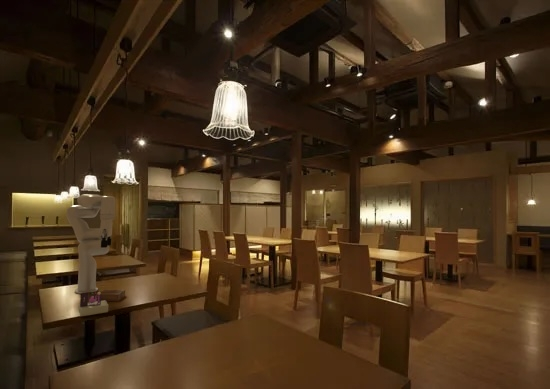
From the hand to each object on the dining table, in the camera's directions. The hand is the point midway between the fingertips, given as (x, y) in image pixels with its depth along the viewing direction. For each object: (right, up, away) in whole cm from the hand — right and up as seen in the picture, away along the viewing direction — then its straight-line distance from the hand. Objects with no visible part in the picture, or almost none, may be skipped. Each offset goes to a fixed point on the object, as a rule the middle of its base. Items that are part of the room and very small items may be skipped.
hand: (106, 246), depth 180 cm
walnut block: (+3, -31, 0) cm, 31 cm away
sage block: (+6, -30, -23) cm, 38 cm away
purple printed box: (+5, -26, -23) cm, 35 cm away
